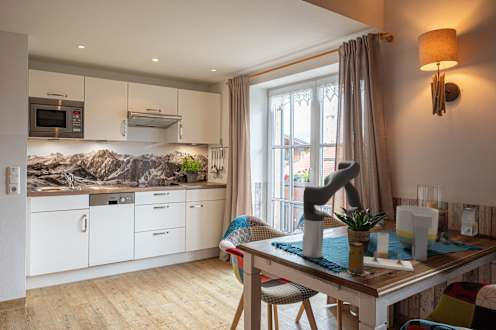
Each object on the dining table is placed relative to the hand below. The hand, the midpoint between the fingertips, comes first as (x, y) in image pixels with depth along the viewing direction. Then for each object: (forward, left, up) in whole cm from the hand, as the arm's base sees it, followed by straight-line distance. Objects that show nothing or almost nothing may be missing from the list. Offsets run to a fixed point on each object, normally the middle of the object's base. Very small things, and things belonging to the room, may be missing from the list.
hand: (375, 225), depth 177 cm
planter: (+21, +9, -13) cm, 26 cm away
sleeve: (+3, -11, -12) cm, 17 cm away
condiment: (-9, -38, -13) cm, 41 cm away
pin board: (+4, -23, -12) cm, 26 cm away
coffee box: (+61, +60, -13) cm, 86 cm away
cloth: (+40, +31, -13) cm, 52 cm away
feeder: (+20, -7, -12) cm, 24 cm away
